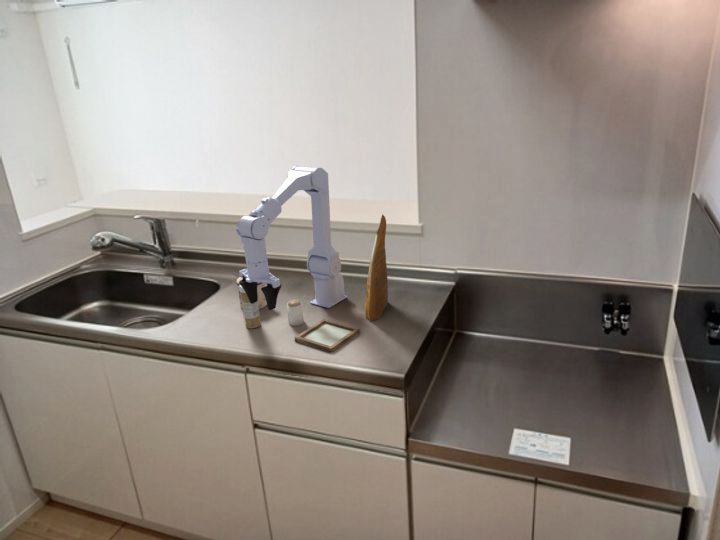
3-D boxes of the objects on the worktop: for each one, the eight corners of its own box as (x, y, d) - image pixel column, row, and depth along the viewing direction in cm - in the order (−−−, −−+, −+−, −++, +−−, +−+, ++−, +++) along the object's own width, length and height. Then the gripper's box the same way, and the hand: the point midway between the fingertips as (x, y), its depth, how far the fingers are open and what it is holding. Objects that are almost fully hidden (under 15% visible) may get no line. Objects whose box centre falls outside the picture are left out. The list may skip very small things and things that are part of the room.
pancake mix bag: (396, 297, 181) (392, 212, 171) (383, 324, 164) (378, 232, 154) (375, 296, 183) (371, 212, 173) (360, 323, 166) (354, 231, 156)
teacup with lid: (234, 309, 180) (229, 275, 176) (249, 297, 188) (244, 265, 184) (267, 313, 176) (262, 278, 172) (281, 301, 184) (277, 268, 179)
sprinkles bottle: (256, 320, 172) (250, 279, 167) (263, 325, 168) (258, 283, 163) (242, 325, 169) (236, 284, 164) (250, 330, 166) (243, 288, 161)
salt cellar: (295, 317, 172) (293, 297, 170) (306, 320, 169) (304, 300, 167) (285, 323, 169) (283, 303, 166) (296, 326, 166) (294, 306, 164)
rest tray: (324, 322, 168) (323, 318, 167) (360, 332, 161) (359, 328, 160) (294, 341, 158) (294, 337, 158) (331, 352, 151) (331, 348, 150)
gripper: (227, 259, 154) (235, 304, 159) (263, 269, 145) (269, 317, 150) (247, 251, 159) (254, 295, 164) (283, 261, 150) (289, 307, 155)
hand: (263, 305), depth 158 cm, fingers open, 7 cm apart
